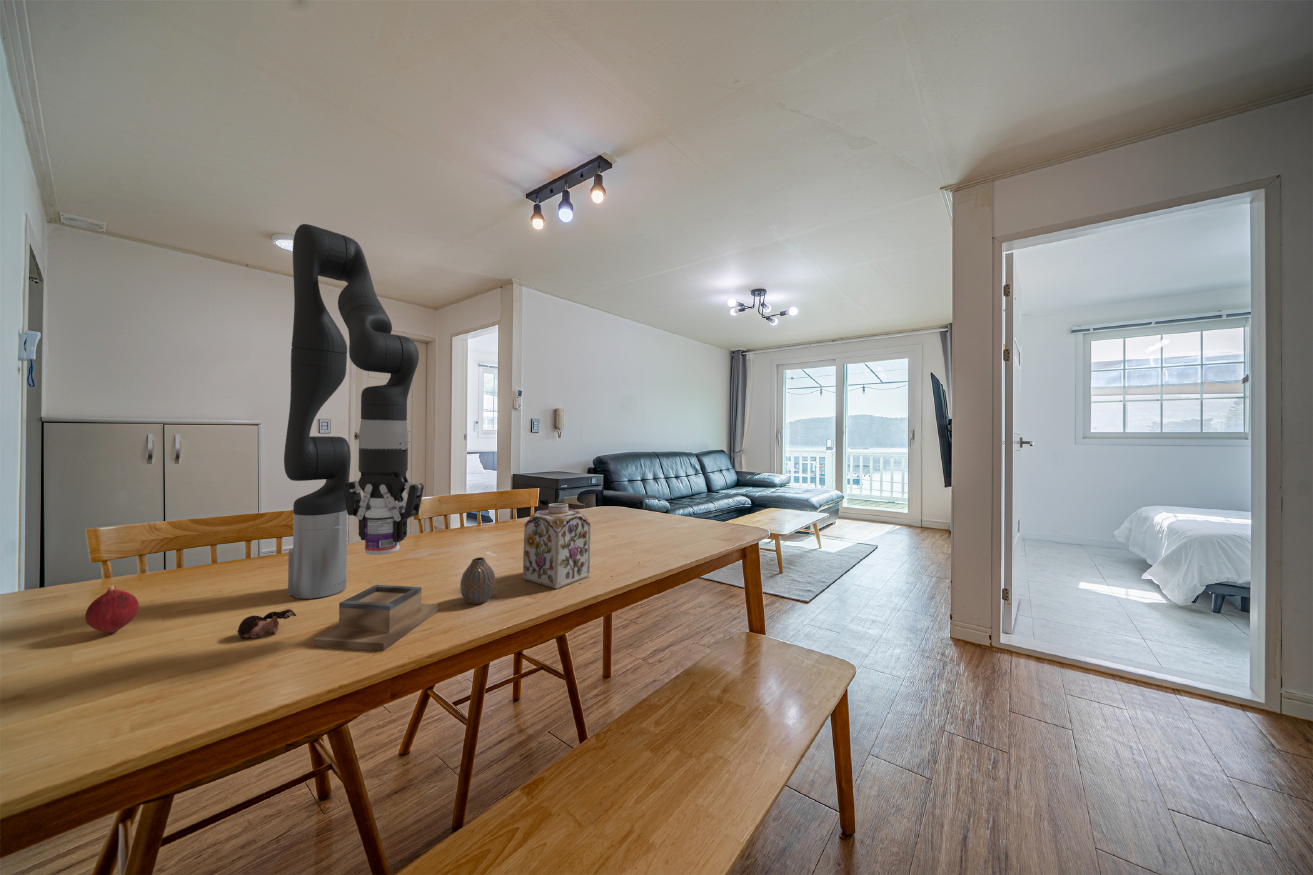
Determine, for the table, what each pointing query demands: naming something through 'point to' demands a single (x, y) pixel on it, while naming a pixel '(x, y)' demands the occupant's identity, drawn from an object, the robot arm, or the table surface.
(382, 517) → the pill bottle
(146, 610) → the table surface
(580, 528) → the decorative jar
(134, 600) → the onion
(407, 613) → the display stand
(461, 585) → the vase
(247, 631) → the head bust
